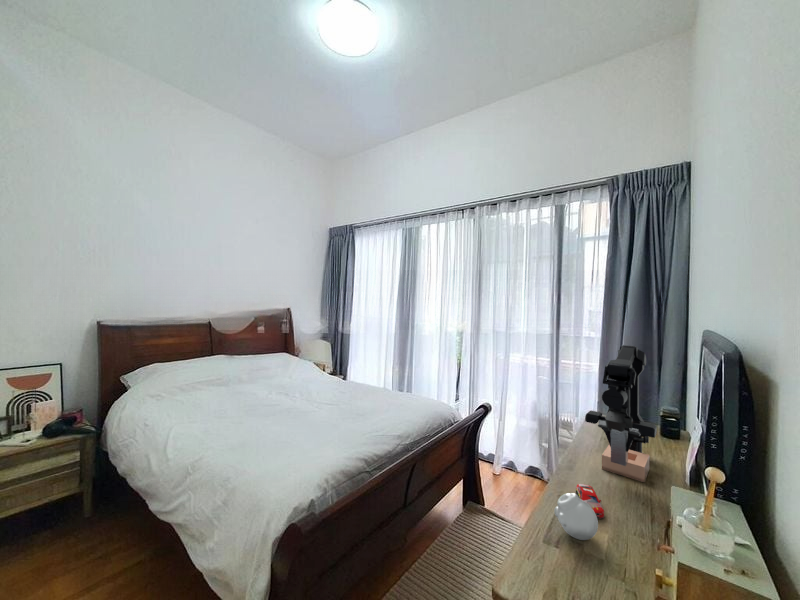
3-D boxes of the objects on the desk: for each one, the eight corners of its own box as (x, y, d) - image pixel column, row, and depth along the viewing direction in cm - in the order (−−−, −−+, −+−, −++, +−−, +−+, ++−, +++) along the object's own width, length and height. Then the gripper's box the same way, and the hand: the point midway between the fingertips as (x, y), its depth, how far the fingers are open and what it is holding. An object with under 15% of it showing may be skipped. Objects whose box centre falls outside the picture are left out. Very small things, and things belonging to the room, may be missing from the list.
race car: (606, 523, 84) (606, 508, 84) (583, 518, 85) (583, 503, 85) (594, 495, 96) (594, 481, 96) (574, 491, 98) (574, 478, 98)
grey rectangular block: (613, 457, 106) (613, 427, 106) (627, 461, 103) (627, 431, 103) (610, 461, 103) (610, 430, 103) (625, 466, 100) (625, 434, 100)
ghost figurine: (562, 517, 85) (562, 480, 85) (602, 536, 78) (602, 496, 78) (548, 533, 79) (548, 493, 79) (591, 556, 72) (591, 512, 72)
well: (609, 457, 119) (609, 444, 119) (649, 469, 111) (649, 455, 111) (601, 469, 111) (601, 454, 111) (644, 482, 102) (644, 467, 103)
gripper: (580, 400, 104) (580, 447, 104) (652, 414, 91) (652, 468, 91) (589, 393, 112) (589, 437, 112) (656, 406, 99) (656, 455, 99)
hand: (619, 449), depth 103 cm, fingers closed on grey rectangular block, 4 cm apart
